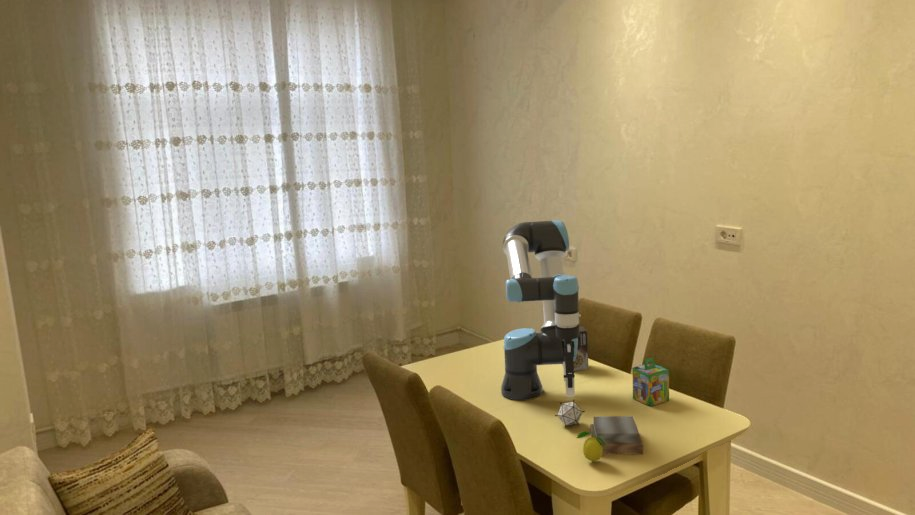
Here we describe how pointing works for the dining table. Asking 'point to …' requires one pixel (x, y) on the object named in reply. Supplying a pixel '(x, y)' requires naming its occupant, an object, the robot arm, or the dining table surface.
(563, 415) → the game die
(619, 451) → the tower base
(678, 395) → the dining table surface
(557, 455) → the dining table surface
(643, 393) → the chalk box
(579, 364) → the coffee box
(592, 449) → the lemon
